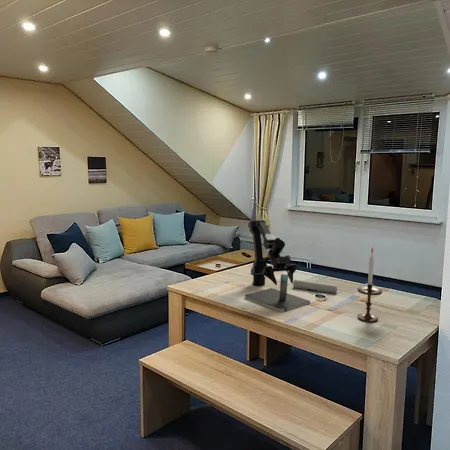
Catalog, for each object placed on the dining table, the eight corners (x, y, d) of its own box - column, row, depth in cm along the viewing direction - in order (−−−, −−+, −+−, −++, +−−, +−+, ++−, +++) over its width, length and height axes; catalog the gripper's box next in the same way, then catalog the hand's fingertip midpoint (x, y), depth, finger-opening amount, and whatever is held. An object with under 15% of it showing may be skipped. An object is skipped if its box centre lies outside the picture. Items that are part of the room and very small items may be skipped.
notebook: (309, 304, 220) (271, 291, 242) (310, 300, 220) (271, 287, 241) (281, 313, 206) (243, 299, 228) (282, 309, 206) (243, 294, 227)
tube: (338, 285, 241) (296, 279, 251) (337, 284, 236) (293, 278, 246) (337, 294, 240) (294, 288, 250) (336, 294, 235) (292, 287, 246)
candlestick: (381, 324, 193) (387, 249, 188) (357, 322, 195) (361, 248, 190) (377, 315, 203) (382, 244, 198) (354, 314, 205) (358, 243, 200)
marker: (278, 299, 220) (280, 275, 218) (279, 297, 223) (281, 273, 222) (285, 300, 219) (287, 276, 217) (286, 298, 222) (288, 274, 221)
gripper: (264, 251, 218) (273, 277, 209) (296, 249, 224) (306, 274, 215) (258, 262, 226) (266, 288, 218) (288, 260, 232) (298, 285, 224)
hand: (284, 283), depth 218 cm, fingers open, 9 cm apart
